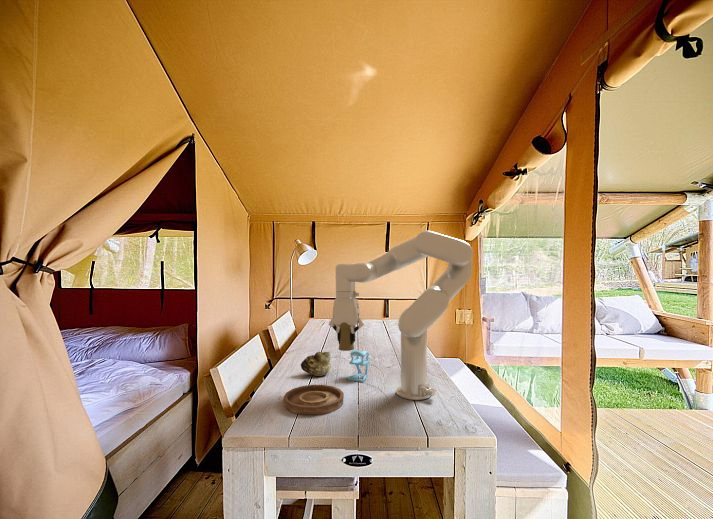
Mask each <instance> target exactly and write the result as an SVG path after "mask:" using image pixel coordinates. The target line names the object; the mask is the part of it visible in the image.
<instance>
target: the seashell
mask: <svg viewBox="0 0 713 519" xmlns="http://www.w3.org/2000/svg"><path fill="white" fill-rule="evenodd" d="M300 368H301V370H303V372H305V373H307V374H310V375H311V376H315V377H322V376H325V375H327V374H328V373H330V370H331V368H332V363H331V352H330V351H324V352H323V351H317V352H315V354H311V355H308V356H307V357H306V358H304V359H303V360H302V361H301V363H300Z"/></svg>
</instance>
